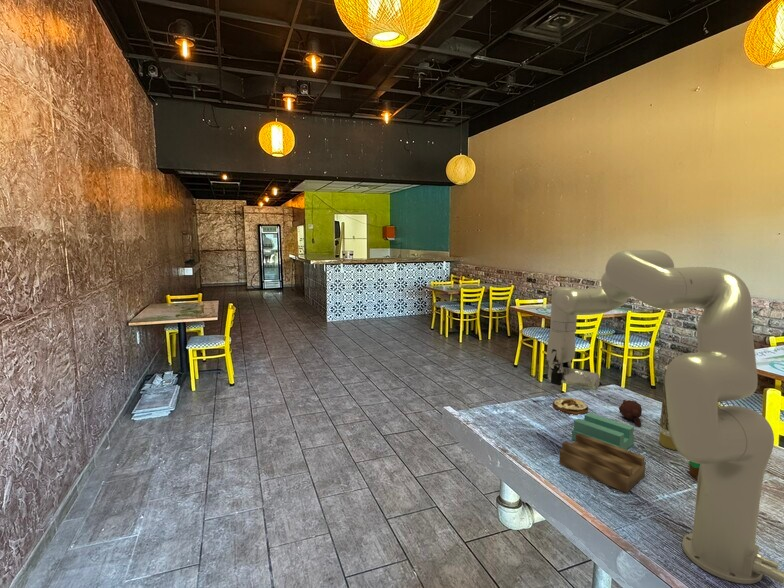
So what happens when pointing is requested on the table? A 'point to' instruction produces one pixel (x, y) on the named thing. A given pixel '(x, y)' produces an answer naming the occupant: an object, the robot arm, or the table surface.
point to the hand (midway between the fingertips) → (560, 381)
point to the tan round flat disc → (570, 406)
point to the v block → (604, 430)
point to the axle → (578, 378)
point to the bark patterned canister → (665, 423)
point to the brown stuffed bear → (631, 411)
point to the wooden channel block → (603, 462)
